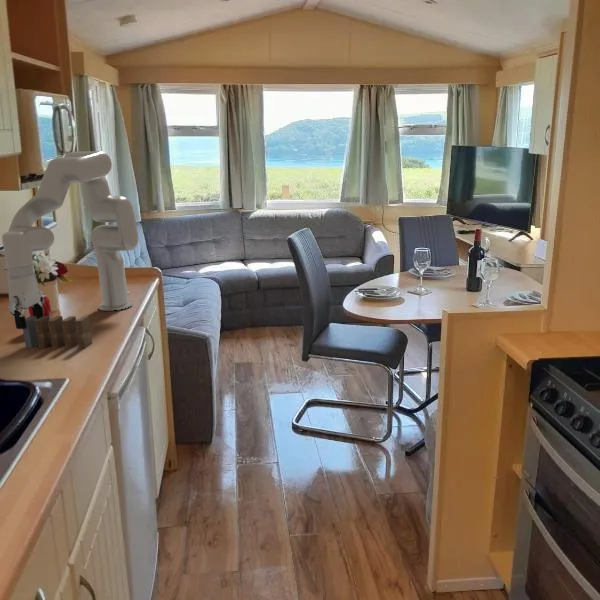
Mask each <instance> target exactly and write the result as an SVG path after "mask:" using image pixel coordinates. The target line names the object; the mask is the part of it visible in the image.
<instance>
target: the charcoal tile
mask: <svg viewBox="0 0 600 600" xmlns="http://www.w3.org/2000/svg"><path fill="white" fill-rule="evenodd" d="M25 320H26V326H27V328H26V329H22V332H23V338H24V343H25V349H33V348H34V347H36V346H39V345H38V338H37V332H36V326H35V320H37V318H36V316H27V317H25Z"/></svg>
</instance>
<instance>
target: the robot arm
mask: <svg viewBox="0 0 600 600" xmlns="http://www.w3.org/2000/svg"><path fill="white" fill-rule="evenodd" d="M112 166H113V165H112V159H111V158H110V156H109V155H108V153H106V152H104V151H100V150H96V151H95V150H94V151H92V150H91V151H72V152H68V153H66V154H65V155H64V156H63V157H55V158H52V159H51V160H50V161H49V162H48V163H47V166H46V169H45V171H44V173H43V176H42V178H41V181H40V184H39V186H38V188H37V191H36V194H35V195H34V196H33V197H31V198H30V199H29V200H28V201H27V202H25V204H23V205H22V206H21V207H20V208H19V209H18V211H17V212H16V213H15V214H14V217H13V219H12V220H11V224H10V226H9V228H8V231H6V232H4V233H3V234H2V235H1V241H2V246H3V252H4V256H5V257H4V258H5V263H6V269H7V274H8V279H7V288H8V301H9V305H8V306H7V308H8V310H9V311H10V315H12V317H13V318H14V322H15V328H16V329H17V330H23V329H26V328H27V326H26V320H25V319H26V316H25V315H24V313H25V310H27V309H28V308H29V307H31V306H34V307H32V311H33V316H36V318H37V319H39V318H41V317H43V310H42V306H43V304H42V301H43V298H42V297H43V294H44V291H43V290H41V289H40V287H39V282H38V279H37V275H36V272H35V265H34V260H33V252H39V251H46V250H48V249H50V248H51V247H52V246H53V244H54V243H55V236H54V233H53V232H52V230H51V229H49V228H47V227H45V226H33V225H34V224H35V222H37V221H38V220H39V219H40V218H43V217H44V216H46V215H48V214H50V213H52V212H54V211H56V210H59V209H60V208H61V207H62V206H63V203H64V202H65V200H66V199H65V198H66V196H67V193H68V192H69V188H70V185H71V184H82V187H83V189H84V192H85V197H86V202H87V206H88V211H89V214H90V218H91V219H92V220H93V221H95V222H98V223H115V224H101V225H98V226H95V227H94V228H93V230H92V231H91V235H90V239H91V244H92V247H93V250H94V253H95V257H96V261H97V271H98V279H99V280H98V281H99V287H100V295H101V303H100V304H98V309H99V310H100V311H103V312H104V311H105V312H115V311H114V310H117V311H122V310H121V309H123V310H126V309H129V308H131V307H133V306H134V305H133V301H132V300H130V299H129V298H128V297H129V296H130V295H131V292H130V291H128V289H127V288H128V287H127V279H126V270H125V264H124V263H125V262H124V259H123V256H122V255H121V253H120V252H130V251H134V250H135V249H136V248H137V247H138V244H139V232H138V227H137V220H136V217H135V216H136V215H135V210H134V207H133V204H132V203H131V201H130V200H129V198H127V197H125V196H122V195H121V196H120V195H112V194H111V191H110V190H111V189H110V186H109V182H108V180H107V178H106V176H108V174H110V173H111V170H112ZM130 306H131V307H130ZM128 307H129V308H128ZM125 308H126V309H125Z"/></svg>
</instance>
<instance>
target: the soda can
mask: <svg viewBox="0 0 600 600" xmlns="http://www.w3.org/2000/svg"><path fill="white" fill-rule="evenodd" d="M42 298H43V301H42V304H43V306H42V310H43V316H49V318H50V320H51V319H52V318H53V314H52V307H51V303H50V302H51V301H50V298H49V297H48V295H47V294H46V293H43V297H42ZM32 307H34V306H31V307H29V308H27V309H28V317H30V316H33V311H32Z"/></svg>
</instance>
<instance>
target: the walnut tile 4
mask: <svg viewBox="0 0 600 600" xmlns="http://www.w3.org/2000/svg"><path fill="white" fill-rule="evenodd" d="M76 320H77V317H76V316H75V315H72V316H68V317H66V318H63V320H62V327H63V334H64V341H65V344H64V346H65V349H73V348H75V347H77V346H78V338H77V331H76V324H75V321H76Z"/></svg>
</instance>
